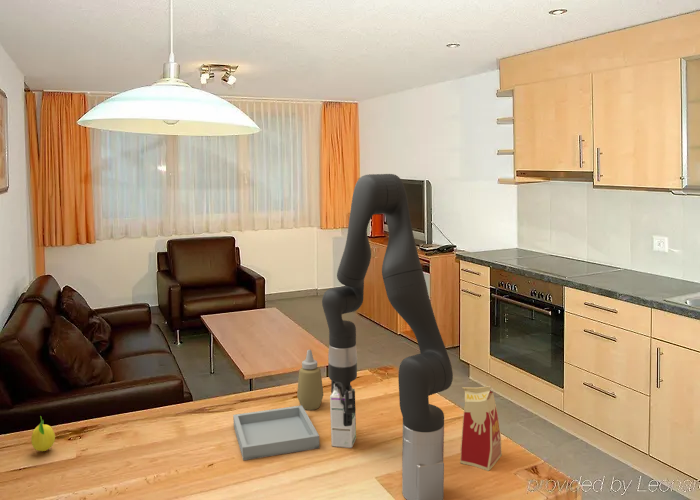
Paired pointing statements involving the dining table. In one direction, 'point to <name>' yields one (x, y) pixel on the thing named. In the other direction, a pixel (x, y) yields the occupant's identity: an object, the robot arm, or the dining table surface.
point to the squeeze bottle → (310, 384)
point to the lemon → (42, 437)
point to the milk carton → (480, 429)
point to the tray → (274, 432)
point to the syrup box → (341, 424)
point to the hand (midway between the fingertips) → (342, 418)
